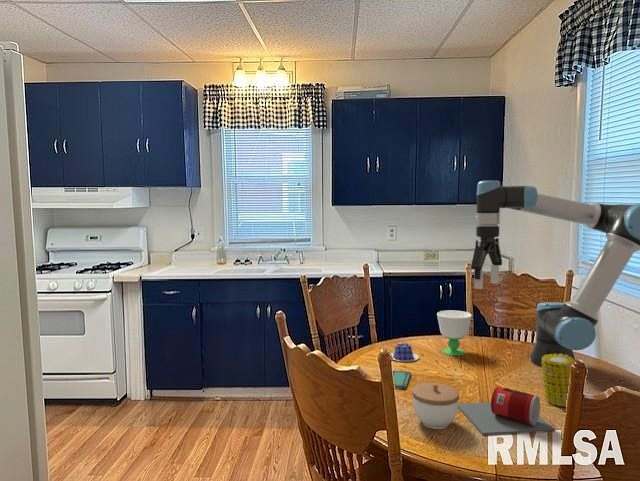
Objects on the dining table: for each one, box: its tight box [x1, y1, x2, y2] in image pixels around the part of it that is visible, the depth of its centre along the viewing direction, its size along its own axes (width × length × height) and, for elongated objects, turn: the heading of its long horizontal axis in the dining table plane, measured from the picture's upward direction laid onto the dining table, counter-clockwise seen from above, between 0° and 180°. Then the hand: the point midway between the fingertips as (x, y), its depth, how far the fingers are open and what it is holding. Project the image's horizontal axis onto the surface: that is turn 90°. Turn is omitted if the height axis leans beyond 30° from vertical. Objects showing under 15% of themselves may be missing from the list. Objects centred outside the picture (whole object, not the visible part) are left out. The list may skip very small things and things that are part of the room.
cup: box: [436, 309, 472, 357], centre depth 190 cm, size 14×14×16 cm
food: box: [541, 354, 577, 408], centre depth 142 cm, size 15×12×10 cm
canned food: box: [490, 386, 541, 426], centre depth 130 cm, size 8×8×11 cm
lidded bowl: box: [411, 382, 460, 430], centre depth 129 cm, size 13×13×11 cm
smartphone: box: [393, 370, 412, 390], centre depth 161 cm, size 7×1×15 cm
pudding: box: [391, 343, 420, 362], centre depth 185 cm, size 12×12×5 cm
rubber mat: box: [458, 401, 556, 436], centre depth 132 cm, size 20×18×1 cm
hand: (486, 286), depth 163 cm, fingers open, 13 cm apart
